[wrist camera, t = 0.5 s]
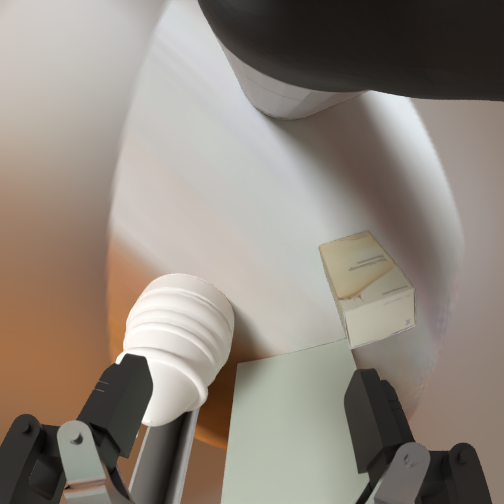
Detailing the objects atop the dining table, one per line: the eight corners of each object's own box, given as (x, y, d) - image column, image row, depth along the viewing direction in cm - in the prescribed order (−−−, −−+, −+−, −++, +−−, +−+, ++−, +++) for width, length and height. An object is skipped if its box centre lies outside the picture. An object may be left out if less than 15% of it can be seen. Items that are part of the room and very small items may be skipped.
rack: (237, 363, 37) (209, 606, 5) (346, 338, 35) (402, 593, 2) (261, 406, 42) (252, 595, 9) (352, 386, 39) (388, 580, 7)
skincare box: (367, 229, 29) (418, 284, 17) (373, 263, 30) (418, 326, 19) (315, 245, 30) (342, 311, 19) (324, 279, 31) (350, 351, 20)
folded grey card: (174, 352, 37) (113, 543, 10) (209, 365, 38) (170, 559, 11) (159, 397, 43) (116, 538, 15) (187, 407, 44) (155, 550, 16)
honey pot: (157, 350, 38) (116, 450, 21) (128, 276, 32) (52, 377, 16) (241, 350, 36) (228, 468, 20) (225, 269, 31) (190, 400, 15)
